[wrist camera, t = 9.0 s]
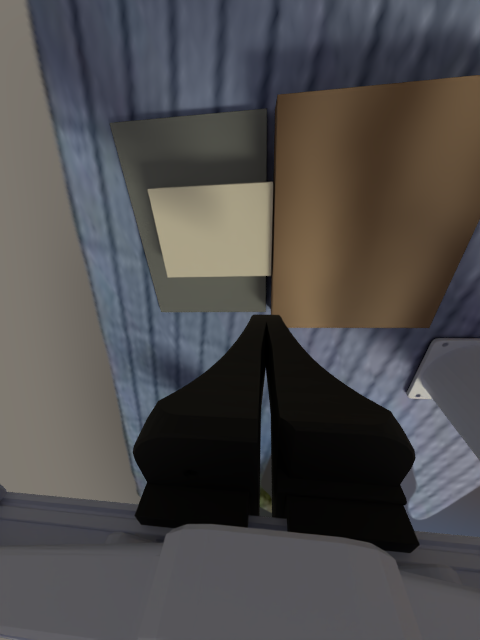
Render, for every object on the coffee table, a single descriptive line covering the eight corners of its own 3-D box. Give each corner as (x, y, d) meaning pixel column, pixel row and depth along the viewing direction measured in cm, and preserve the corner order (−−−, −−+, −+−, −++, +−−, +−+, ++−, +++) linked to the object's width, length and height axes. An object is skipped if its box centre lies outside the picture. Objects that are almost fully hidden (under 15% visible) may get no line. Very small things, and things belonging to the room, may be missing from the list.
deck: (492, 89, 13) (549, 68, 10) (408, 308, 20) (429, 327, 18) (275, 109, 14) (277, 94, 11) (270, 309, 21) (271, 327, 19)
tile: (272, 181, 16) (273, 182, 14) (270, 266, 19) (270, 275, 17) (159, 187, 16) (147, 188, 15) (175, 268, 20) (167, 277, 18)
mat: (266, 110, 14) (266, 108, 14) (265, 309, 21) (265, 311, 21) (113, 124, 15) (109, 123, 15) (162, 310, 22) (161, 312, 22)
